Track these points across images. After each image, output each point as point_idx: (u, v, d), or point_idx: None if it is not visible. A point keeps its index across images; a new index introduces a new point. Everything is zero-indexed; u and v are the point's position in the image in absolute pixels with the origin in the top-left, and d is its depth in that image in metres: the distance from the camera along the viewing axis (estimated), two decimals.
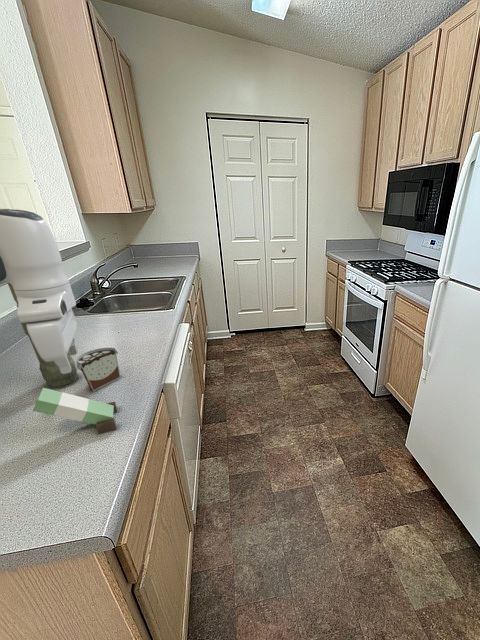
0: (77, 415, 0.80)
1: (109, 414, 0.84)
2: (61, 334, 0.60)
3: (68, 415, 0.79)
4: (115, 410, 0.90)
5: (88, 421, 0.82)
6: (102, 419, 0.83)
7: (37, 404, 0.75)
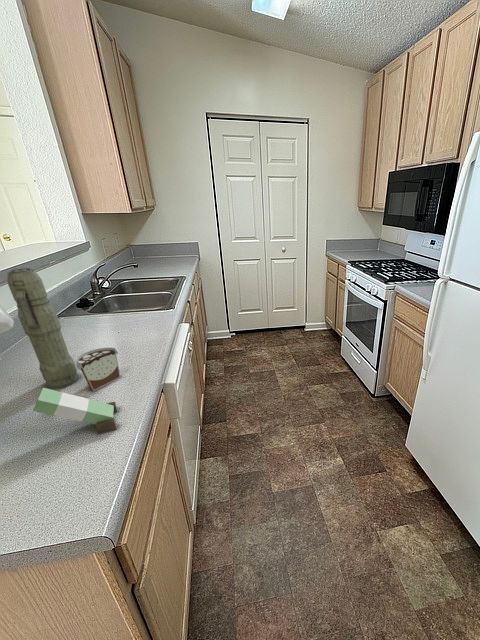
0: (77, 415, 0.80)
1: (109, 414, 0.84)
2: None
3: (68, 415, 0.79)
4: (115, 410, 0.90)
5: (88, 421, 0.82)
6: (102, 419, 0.83)
7: (37, 404, 0.75)
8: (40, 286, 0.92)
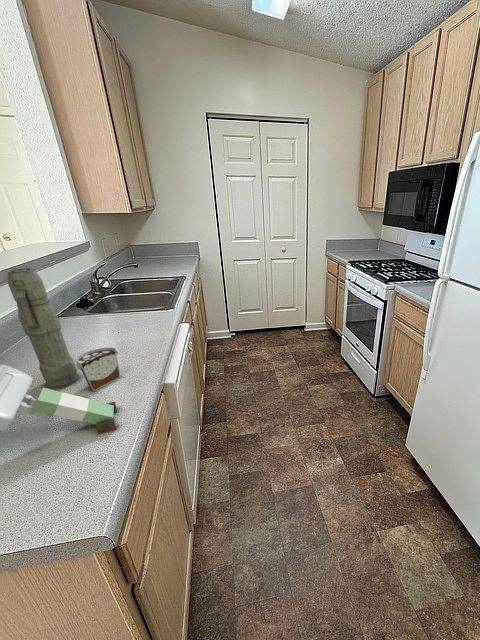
0: (77, 415, 0.80)
1: (109, 414, 0.84)
2: None
3: (68, 415, 0.79)
4: (115, 410, 0.90)
5: (88, 421, 0.82)
6: (102, 419, 0.83)
7: (37, 404, 0.75)
8: (40, 286, 0.92)
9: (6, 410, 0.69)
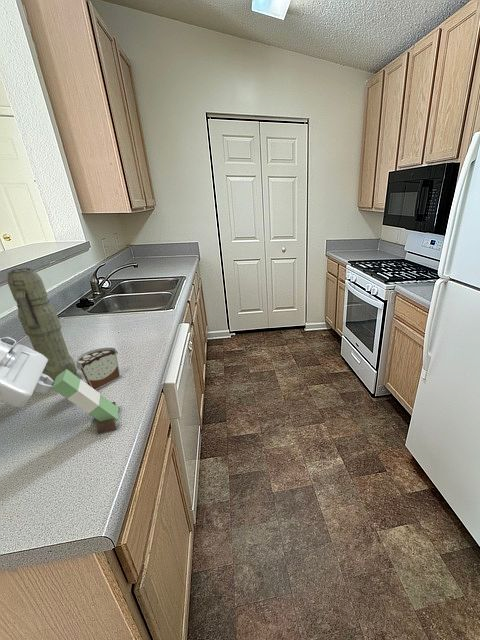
0: (88, 406, 0.80)
1: (115, 415, 0.85)
2: None
3: (80, 403, 0.79)
4: None
5: (94, 415, 0.82)
6: (107, 418, 0.83)
7: (59, 383, 0.75)
8: (40, 286, 0.92)
9: (24, 387, 0.69)
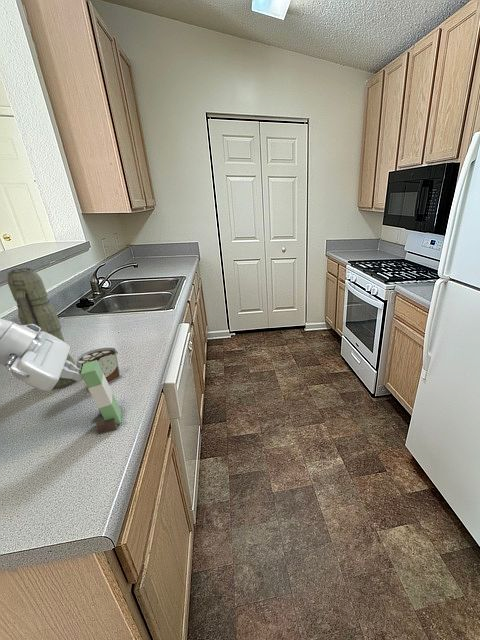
0: (102, 401, 0.81)
1: (119, 417, 0.86)
2: None
3: (97, 396, 0.80)
4: None
5: (102, 411, 0.82)
6: None
7: (90, 372, 0.77)
8: (40, 286, 0.92)
9: (52, 371, 0.70)
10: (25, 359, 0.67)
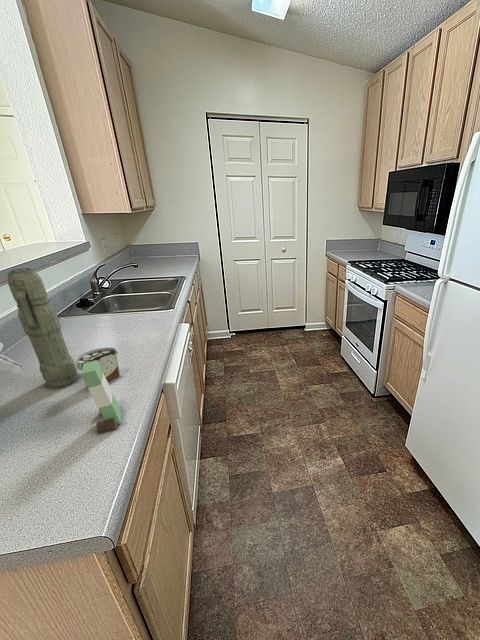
0: (102, 401, 0.81)
1: (119, 417, 0.86)
2: None
3: (97, 396, 0.80)
4: None
5: (102, 411, 0.82)
6: None
7: (90, 372, 0.77)
8: (40, 286, 0.92)
9: None
10: None
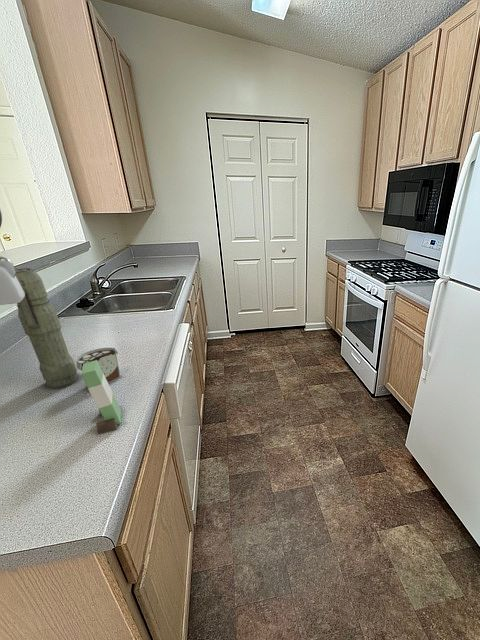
0: (102, 401, 0.81)
1: (119, 417, 0.86)
2: None
3: (97, 396, 0.80)
4: None
5: (102, 411, 0.82)
6: None
7: (90, 372, 0.77)
8: (40, 286, 0.92)
9: None
10: None
